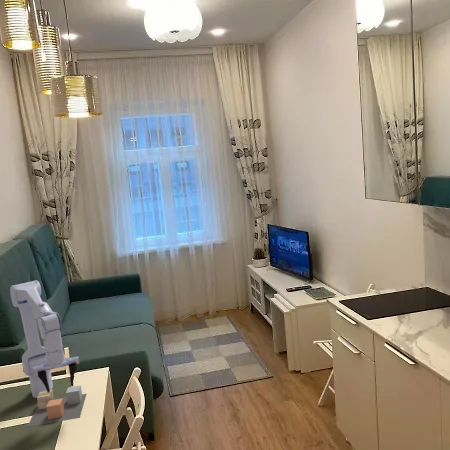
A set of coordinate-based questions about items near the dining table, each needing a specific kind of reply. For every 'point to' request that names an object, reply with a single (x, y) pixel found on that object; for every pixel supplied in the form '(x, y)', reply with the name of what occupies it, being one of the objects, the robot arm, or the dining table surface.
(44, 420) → the mat
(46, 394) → the birch block
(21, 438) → the dining table surface
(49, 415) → the terracotta block
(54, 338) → the robot arm
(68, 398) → the slate block
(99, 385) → the dining table surface
